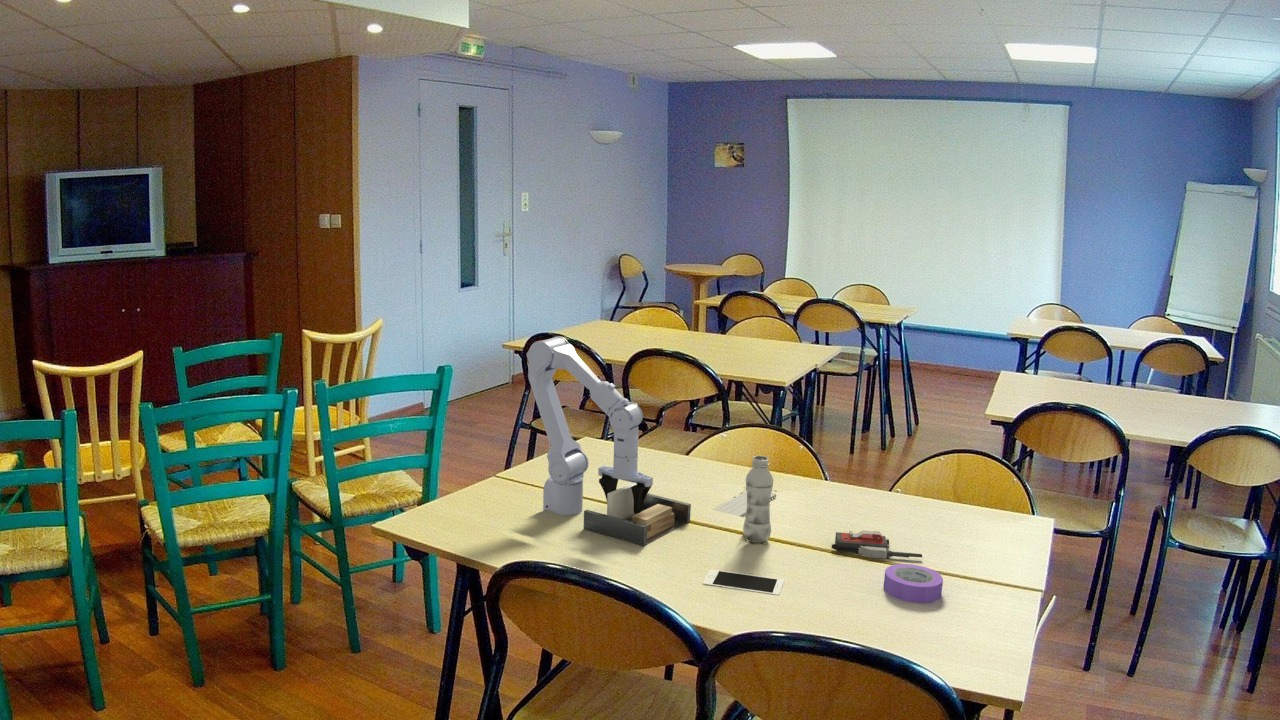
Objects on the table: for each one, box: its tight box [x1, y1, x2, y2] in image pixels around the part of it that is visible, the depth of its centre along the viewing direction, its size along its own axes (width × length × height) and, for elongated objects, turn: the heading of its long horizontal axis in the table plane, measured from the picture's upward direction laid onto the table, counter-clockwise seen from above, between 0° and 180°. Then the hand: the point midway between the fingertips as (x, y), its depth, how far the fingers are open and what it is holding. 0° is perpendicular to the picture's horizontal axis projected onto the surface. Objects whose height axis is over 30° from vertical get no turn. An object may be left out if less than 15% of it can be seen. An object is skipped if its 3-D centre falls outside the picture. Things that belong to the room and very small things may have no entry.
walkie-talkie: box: [831, 530, 923, 560], centre depth 226 cm, size 9×4×20 cm
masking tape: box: [883, 563, 944, 604], centre depth 205 cm, size 12×12×4 cm
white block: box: [606, 482, 637, 519], centre depth 236 cm, size 2×12×8 cm, turn 146°
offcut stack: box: [632, 504, 674, 538], centre depth 232 cm, size 4×12×4 cm, turn 146°
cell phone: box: [702, 568, 785, 596], centre depth 207 cm, size 8×16×1 cm, turn 74°
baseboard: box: [712, 486, 777, 518], centre depth 252 cm, size 30×3×10 cm
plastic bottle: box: [742, 455, 774, 543], centre depth 229 cm, size 6×7×20 cm
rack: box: [583, 492, 692, 547], centre depth 234 cm, size 17×20×6 cm
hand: (624, 509), depth 236 cm, fingers open, 7 cm apart
